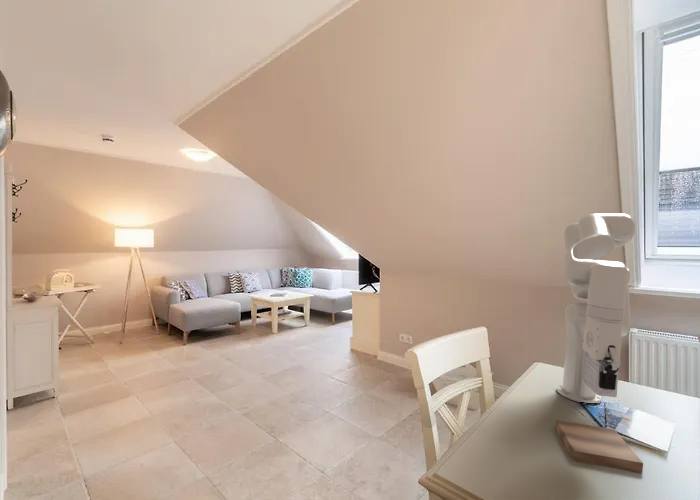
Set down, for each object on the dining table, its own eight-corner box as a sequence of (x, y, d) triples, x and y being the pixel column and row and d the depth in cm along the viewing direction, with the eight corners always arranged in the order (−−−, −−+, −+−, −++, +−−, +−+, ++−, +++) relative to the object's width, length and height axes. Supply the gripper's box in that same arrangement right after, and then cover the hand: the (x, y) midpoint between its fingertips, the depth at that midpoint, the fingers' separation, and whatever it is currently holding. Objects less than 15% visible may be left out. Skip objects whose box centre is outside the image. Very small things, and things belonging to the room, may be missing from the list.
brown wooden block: (555, 428, 96) (556, 419, 96) (613, 438, 93) (614, 429, 93) (573, 460, 83) (574, 450, 83) (642, 473, 79) (643, 463, 79)
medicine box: (617, 398, 83) (620, 363, 82) (596, 395, 84) (599, 361, 83) (600, 383, 90) (603, 351, 90) (581, 381, 91) (584, 349, 91)
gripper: (575, 304, 95) (570, 365, 96) (602, 320, 78) (596, 394, 80) (606, 306, 93) (601, 369, 94) (641, 323, 76) (634, 399, 78)
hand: (599, 380), depth 87 cm, fingers closed on medicine box, 8 cm apart
